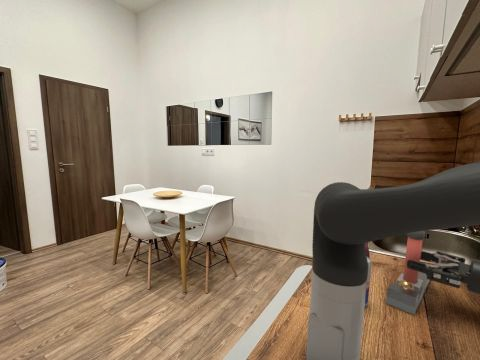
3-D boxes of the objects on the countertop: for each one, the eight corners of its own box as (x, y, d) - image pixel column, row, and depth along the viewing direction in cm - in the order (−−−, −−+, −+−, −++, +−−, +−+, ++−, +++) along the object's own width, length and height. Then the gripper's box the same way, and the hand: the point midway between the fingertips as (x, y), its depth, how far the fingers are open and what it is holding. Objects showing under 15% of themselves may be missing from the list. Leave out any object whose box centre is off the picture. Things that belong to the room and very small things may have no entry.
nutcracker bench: (414, 315, 59) (416, 293, 58) (385, 303, 63) (388, 283, 62) (429, 279, 74) (432, 262, 73) (406, 272, 78) (408, 255, 78)
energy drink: (353, 310, 60) (357, 264, 58) (340, 297, 65) (343, 254, 64) (372, 307, 61) (377, 262, 59) (358, 294, 67) (362, 252, 65)
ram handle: (418, 293, 64) (426, 230, 61) (396, 285, 67) (403, 225, 65) (422, 285, 67) (430, 226, 65) (401, 278, 71) (407, 221, 68)
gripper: (499, 256, 59) (418, 237, 71) (501, 278, 49) (406, 253, 61) (494, 285, 61) (415, 262, 72) (495, 312, 51) (403, 281, 62)
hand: (411, 258), depth 66 cm, fingers open, 8 cm apart
